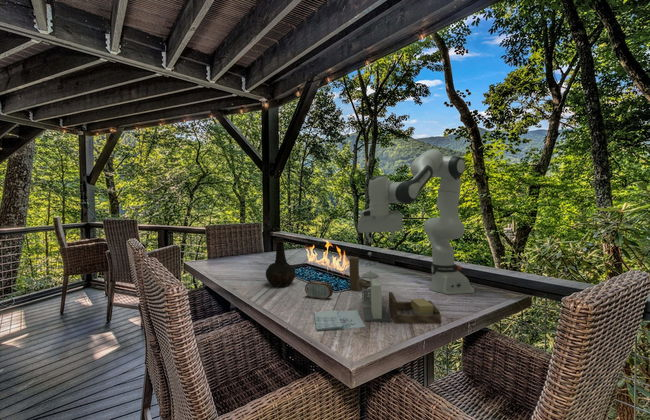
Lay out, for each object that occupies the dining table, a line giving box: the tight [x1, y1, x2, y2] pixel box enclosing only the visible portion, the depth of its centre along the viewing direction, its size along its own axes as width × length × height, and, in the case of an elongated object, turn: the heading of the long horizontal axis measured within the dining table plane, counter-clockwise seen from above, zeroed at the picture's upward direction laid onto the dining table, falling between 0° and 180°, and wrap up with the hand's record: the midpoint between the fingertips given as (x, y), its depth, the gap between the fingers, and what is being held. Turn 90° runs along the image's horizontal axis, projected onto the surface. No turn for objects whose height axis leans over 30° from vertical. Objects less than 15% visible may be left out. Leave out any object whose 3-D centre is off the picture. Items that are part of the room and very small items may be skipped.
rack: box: [388, 291, 442, 324], centre depth 136 cm, size 18×17×8 cm
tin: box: [304, 280, 334, 300], centre depth 162 cm, size 15×3×8 cm, turn 65°
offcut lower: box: [412, 308, 433, 315], centre depth 136 cm, size 6×9×3 cm, turn 1°
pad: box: [363, 307, 391, 323], centre depth 137 cm, size 10×14×1 cm
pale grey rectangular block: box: [370, 278, 383, 319], centre depth 137 cm, size 4×11×14 cm, turn 176°
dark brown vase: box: [265, 237, 296, 287], centre depth 190 cm, size 18×18×28 cm
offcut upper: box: [410, 298, 435, 313], centre depth 136 cm, size 6×9×3 cm, turn 8°
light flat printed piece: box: [313, 309, 367, 332], centre depth 132 cm, size 19×20×2 cm
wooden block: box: [348, 256, 368, 292], centre depth 175 cm, size 9×4×18 cm, turn 75°
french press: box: [357, 251, 380, 308], centre depth 152 cm, size 10×12×25 cm
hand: (380, 241), depth 144 cm, fingers open, 8 cm apart
